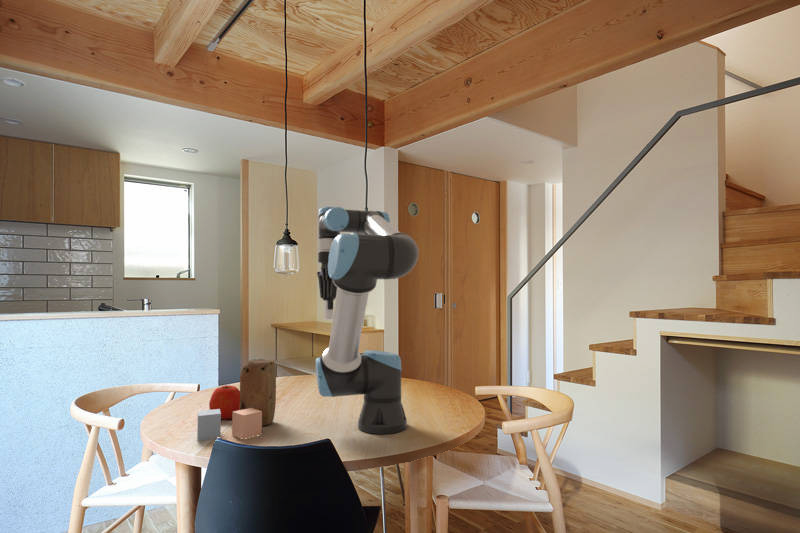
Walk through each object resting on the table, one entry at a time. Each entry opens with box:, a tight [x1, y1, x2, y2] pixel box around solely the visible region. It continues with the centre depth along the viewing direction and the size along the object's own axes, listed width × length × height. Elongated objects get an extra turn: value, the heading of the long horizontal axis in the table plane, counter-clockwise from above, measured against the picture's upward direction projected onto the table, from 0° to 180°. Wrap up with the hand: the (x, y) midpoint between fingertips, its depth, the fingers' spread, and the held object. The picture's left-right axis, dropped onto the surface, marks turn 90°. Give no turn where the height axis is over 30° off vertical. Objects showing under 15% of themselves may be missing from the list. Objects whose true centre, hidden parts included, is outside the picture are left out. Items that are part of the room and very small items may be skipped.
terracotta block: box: [231, 408, 263, 439], centre depth 137 cm, size 6×6×7 cm
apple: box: [208, 385, 240, 420], centre depth 157 cm, size 11×11×11 cm
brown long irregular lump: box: [239, 358, 277, 427], centre depth 149 cm, size 11×8×20 cm
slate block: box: [196, 409, 222, 442], centre depth 136 cm, size 6×6×7 cm
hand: (328, 318), depth 163 cm, fingers closed
